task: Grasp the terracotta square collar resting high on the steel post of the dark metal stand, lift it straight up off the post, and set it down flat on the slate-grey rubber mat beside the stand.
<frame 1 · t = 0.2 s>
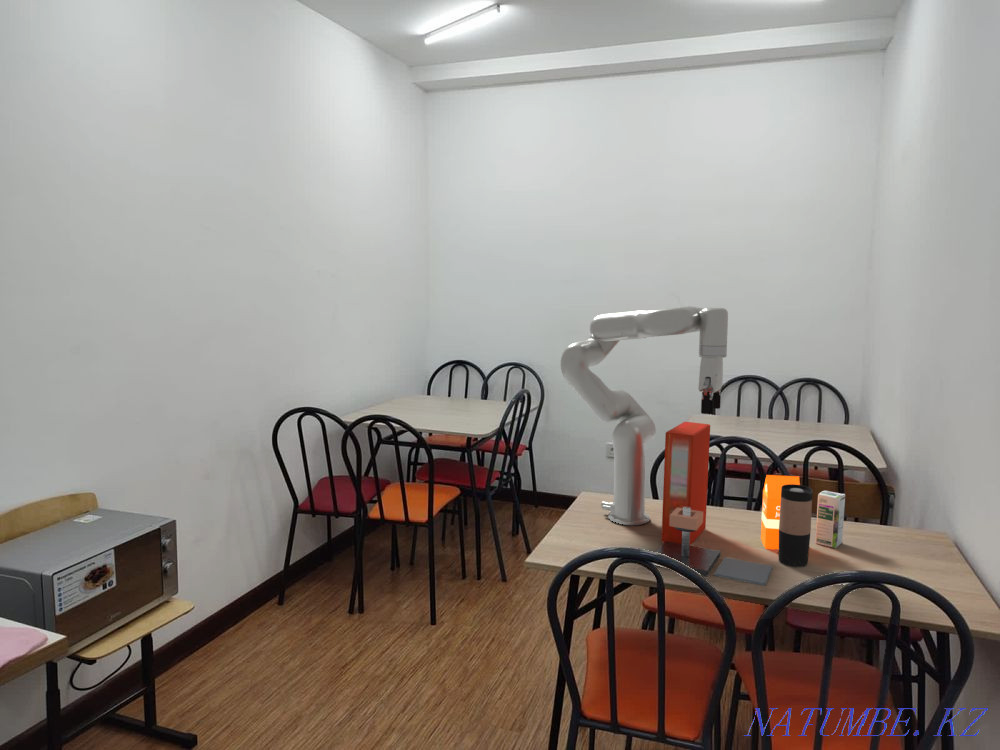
hand: (710, 410, 202), 36 cm above the table, tool pointing down, fingers open, 9 cm apart
orange juice: (779, 545, 198), on the table
stand: (685, 560, 187), on the table
collar: (686, 524, 185), point 10 cm above the table, touching stand
syrup box: (828, 544, 199), on the table
mat: (743, 571, 179), on the table
travel mug: (792, 562, 186), on the table
file binder: (684, 536, 205), on the table
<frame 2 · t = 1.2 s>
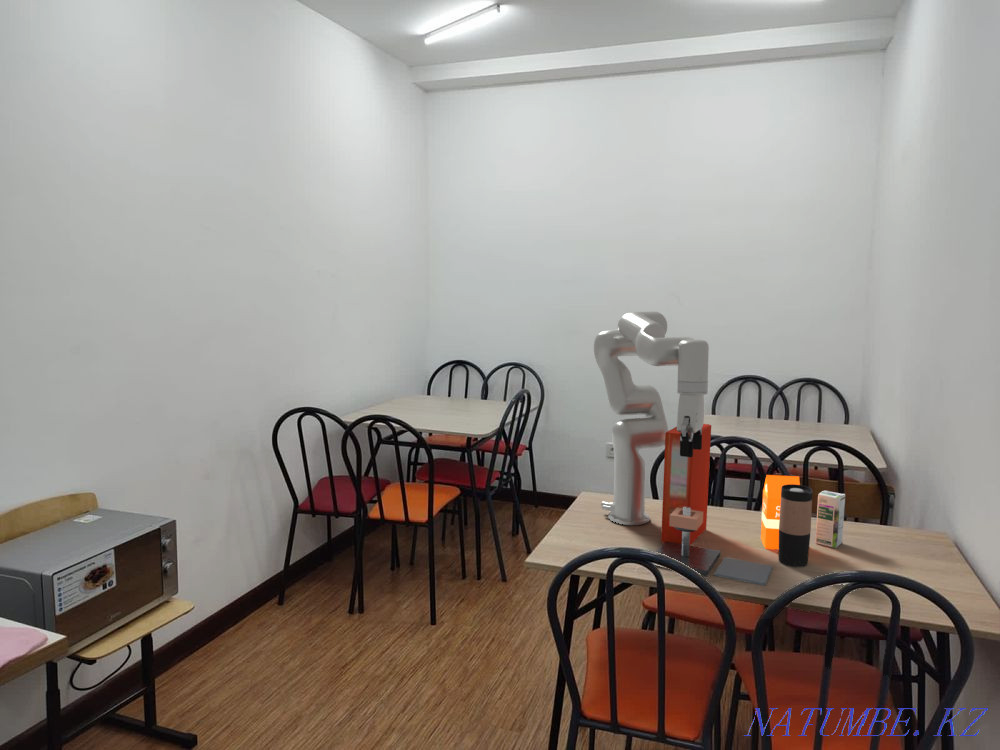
hand: (690, 452, 184), 29 cm above the table, tool pointing down, fingers open, 9 cm apart
nothing on the table moved.
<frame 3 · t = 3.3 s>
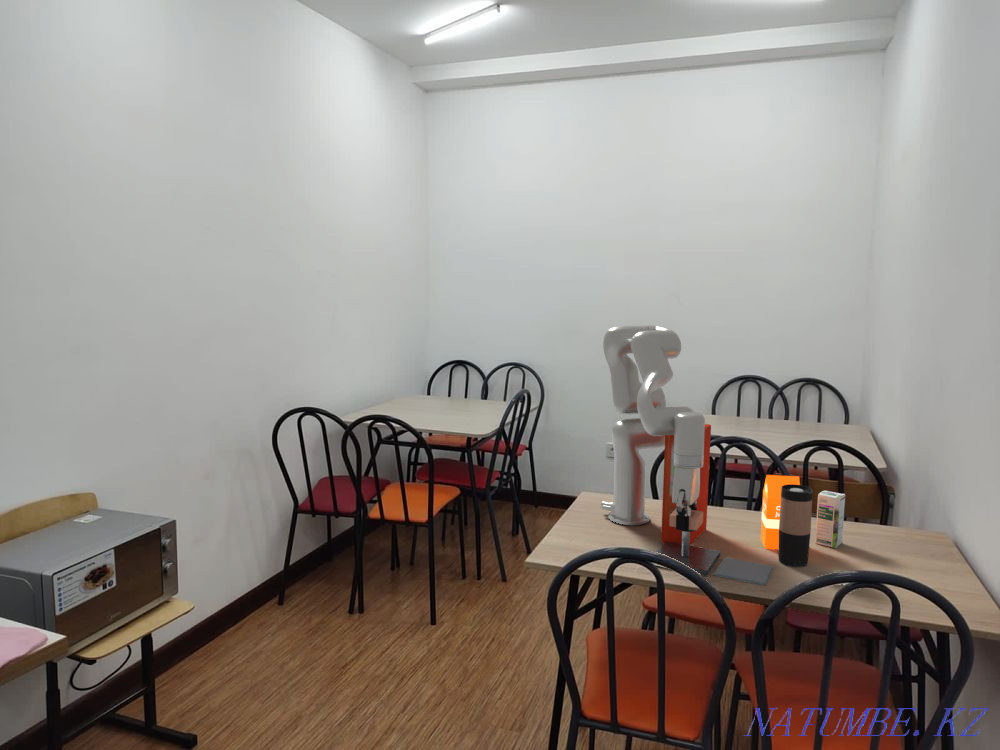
hand: (686, 524, 185), 10 cm above the table, tool pointing down, fingers closed on collar, 7 cm apart
collar: (686, 524, 185), point 10 cm above the table, touching gripper, stand
everything else where it was.
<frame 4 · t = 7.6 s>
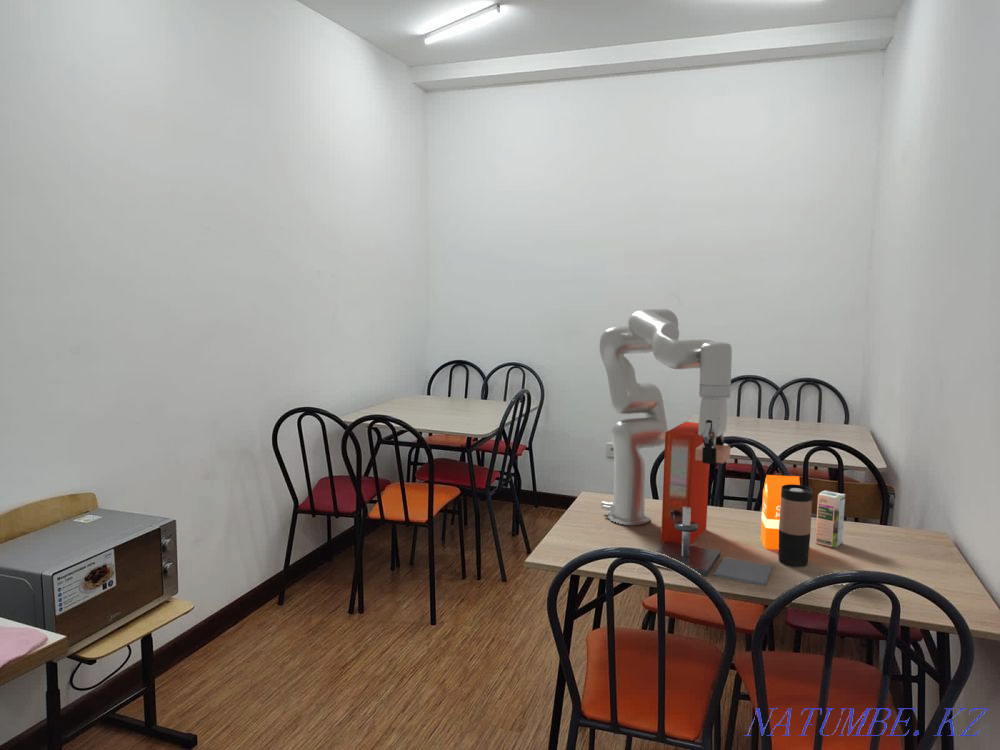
hand: (712, 459, 180), 28 cm above the table, tool pointing down, fingers closed on collar, 7 cm apart
collar: (712, 458, 180), point 28 cm above the table, touching gripper
everything else where it was.
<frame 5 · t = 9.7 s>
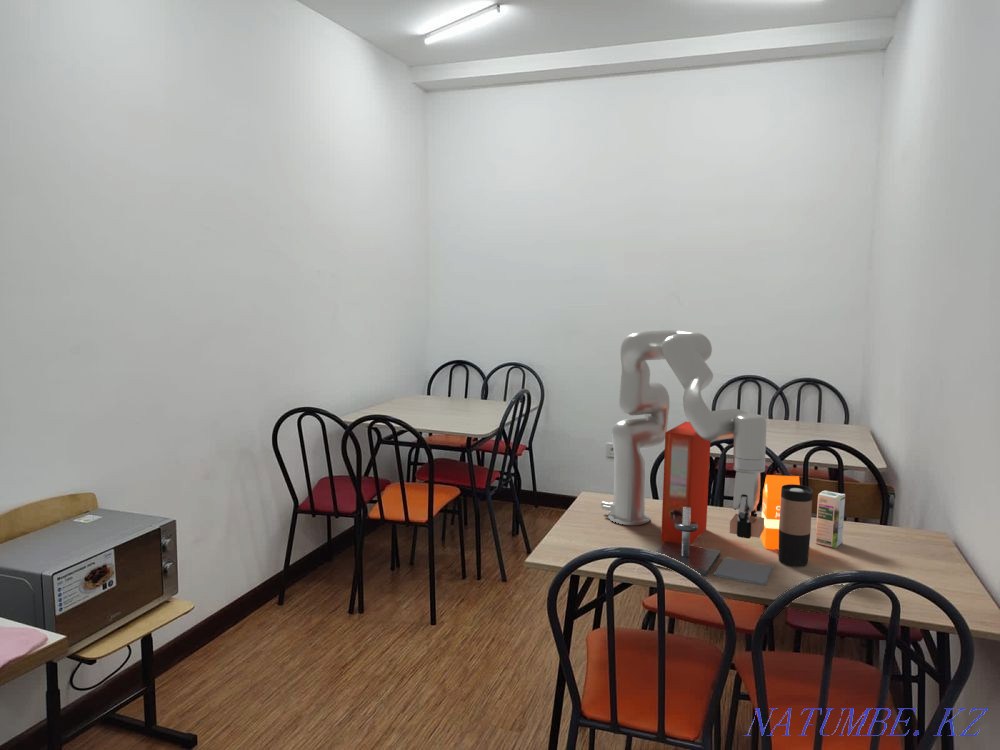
hand: (746, 532, 178), 11 cm above the table, tool pointing down, fingers closed on collar, 7 cm apart
collar: (746, 531, 178), point 11 cm above the table, touching gripper
everything else where it was.
when the fingers open (2 cm above the table, at t = 11.7 s): collar drops 1 cm, resting on mat.
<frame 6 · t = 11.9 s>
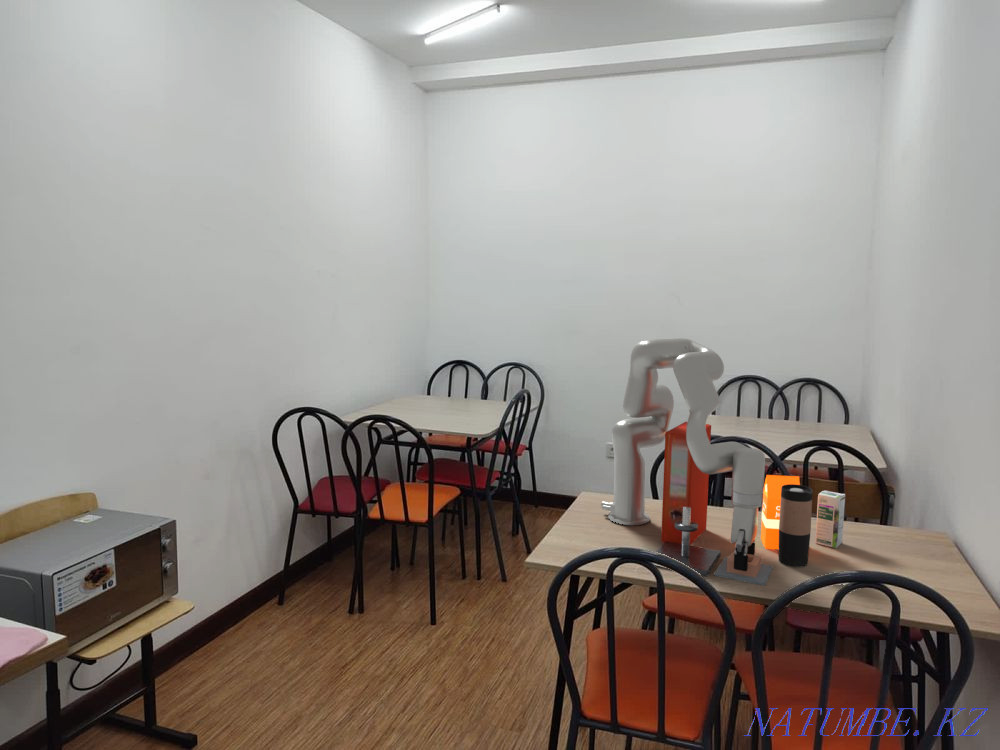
hand: (744, 563, 179), 2 cm above the table, tool pointing down, fingers open, 9 cm apart
collar: (743, 569, 179), point 1 cm above the table, touching mat
everything else where it was.
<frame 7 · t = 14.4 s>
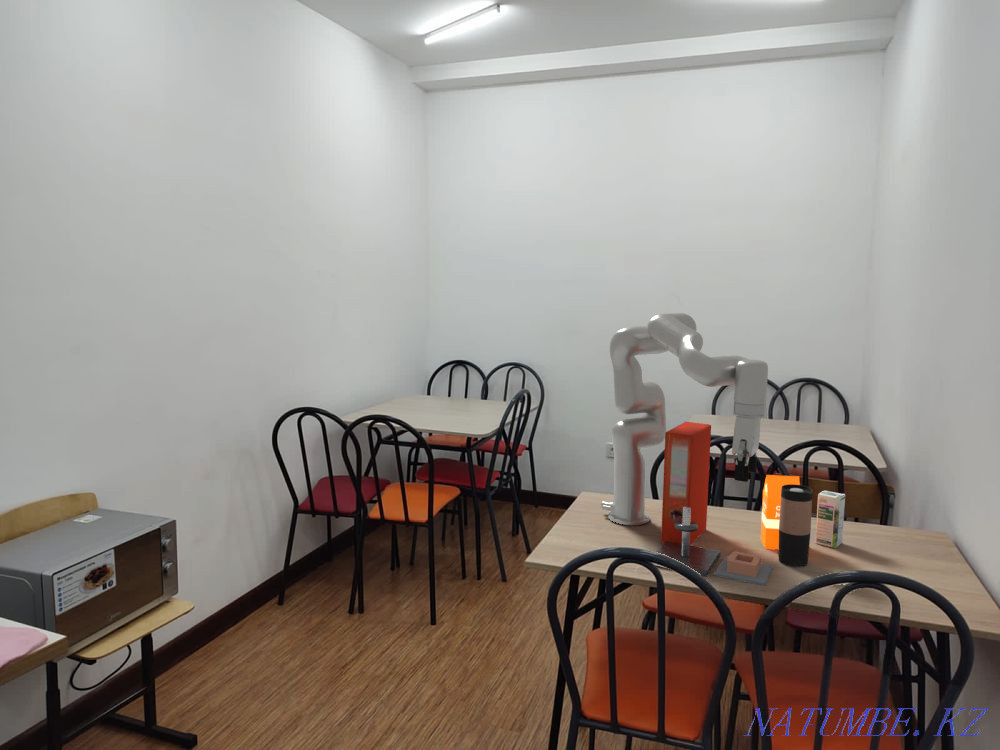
hand: (745, 475, 178), 25 cm above the table, tool pointing down, fingers open, 9 cm apart
nothing on the table moved.
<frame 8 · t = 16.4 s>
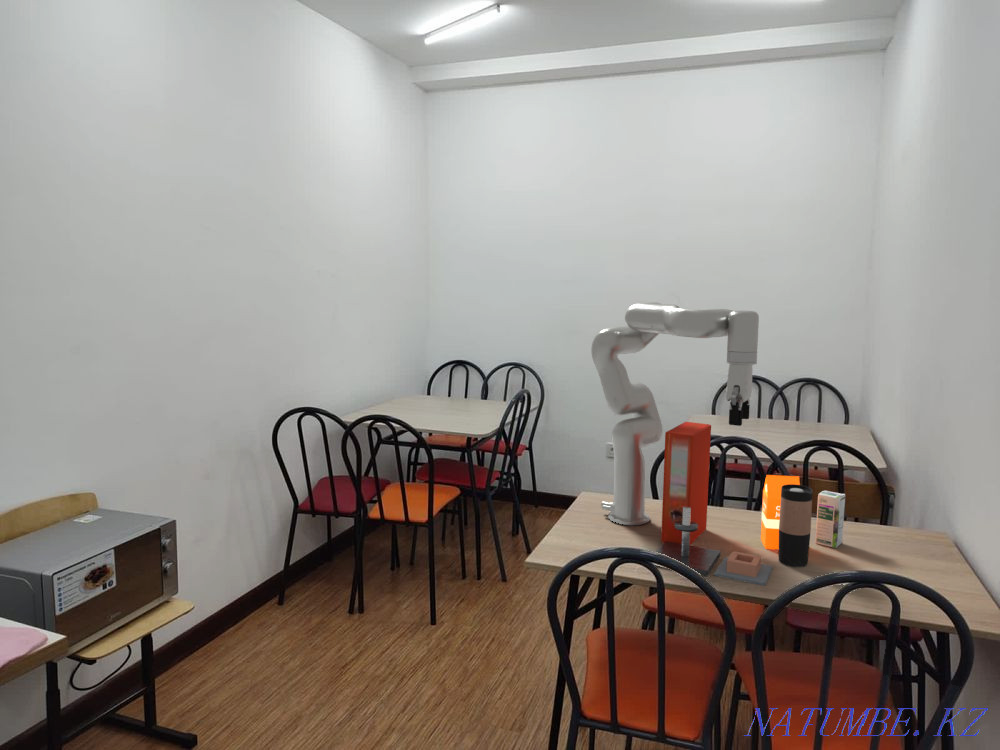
hand: (739, 421, 187), 36 cm above the table, tool pointing down, fingers open, 9 cm apart
nothing on the table moved.
at the end: collar inside the target area on the mat (0.0 cm from its centre), point 0.6 cm above the mat's base; collar tilted 0°; the gripper is holding nothing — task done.
